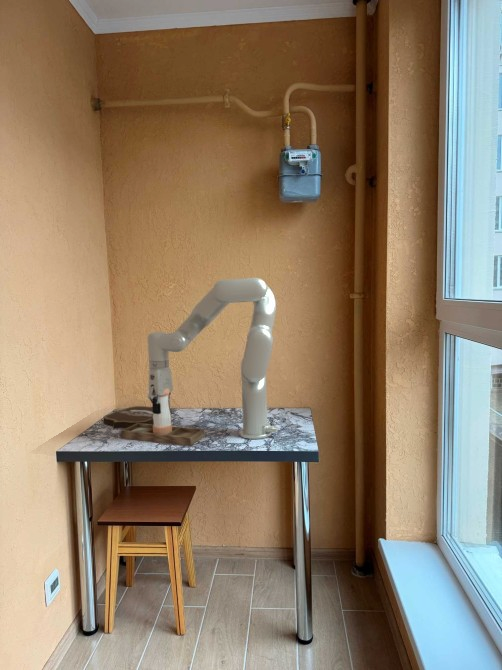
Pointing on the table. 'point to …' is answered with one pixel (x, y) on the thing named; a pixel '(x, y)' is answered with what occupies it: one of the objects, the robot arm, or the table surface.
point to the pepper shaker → (163, 415)
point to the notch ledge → (175, 437)
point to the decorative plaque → (130, 417)
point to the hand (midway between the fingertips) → (161, 410)
